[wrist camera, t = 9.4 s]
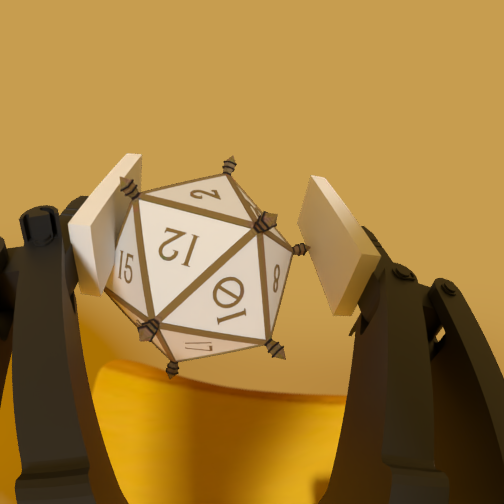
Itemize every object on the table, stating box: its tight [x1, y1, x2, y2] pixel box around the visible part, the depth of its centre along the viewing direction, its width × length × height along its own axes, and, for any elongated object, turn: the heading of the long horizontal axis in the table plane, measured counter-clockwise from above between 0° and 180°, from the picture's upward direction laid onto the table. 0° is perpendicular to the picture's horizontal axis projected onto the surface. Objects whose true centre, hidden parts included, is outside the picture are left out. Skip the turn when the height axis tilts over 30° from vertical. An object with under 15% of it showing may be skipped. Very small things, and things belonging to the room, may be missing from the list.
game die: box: [104, 156, 311, 379], centre depth 12 cm, size 9×8×10 cm
